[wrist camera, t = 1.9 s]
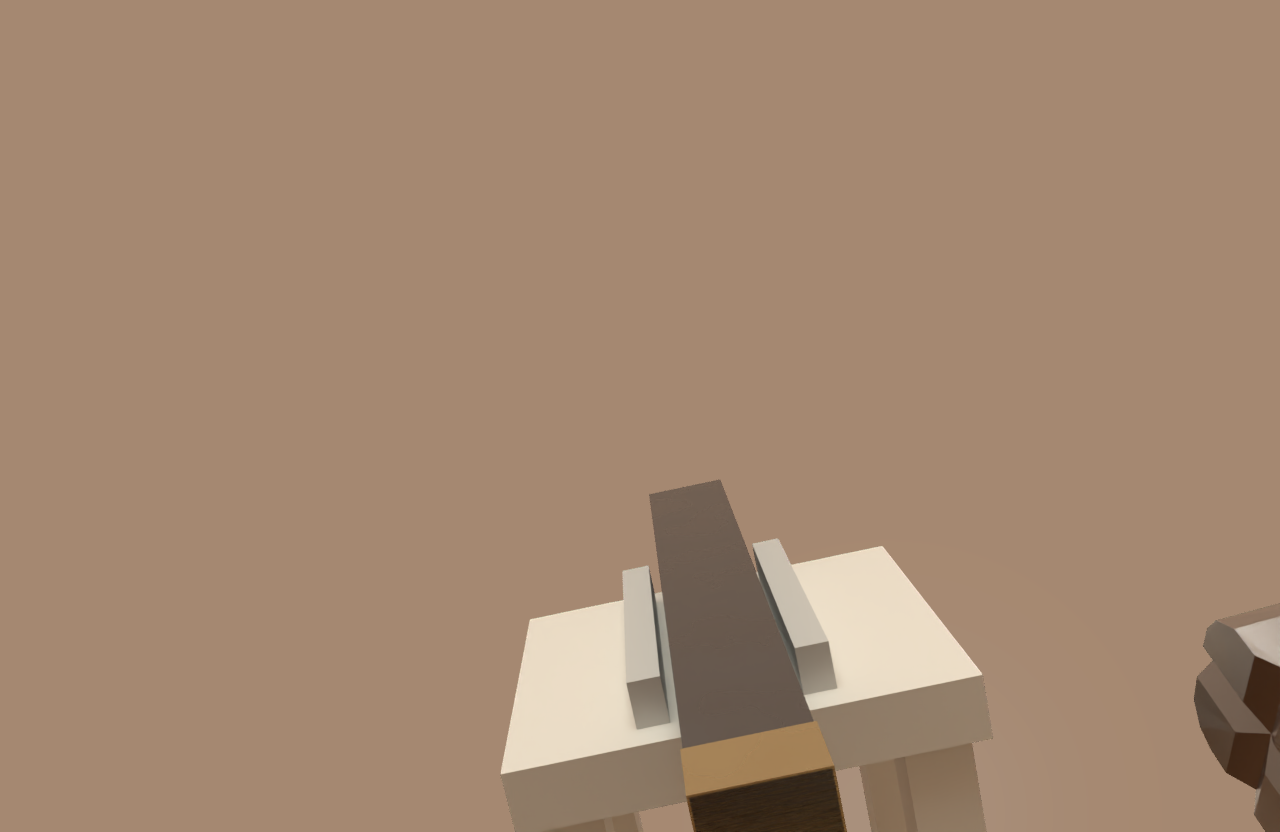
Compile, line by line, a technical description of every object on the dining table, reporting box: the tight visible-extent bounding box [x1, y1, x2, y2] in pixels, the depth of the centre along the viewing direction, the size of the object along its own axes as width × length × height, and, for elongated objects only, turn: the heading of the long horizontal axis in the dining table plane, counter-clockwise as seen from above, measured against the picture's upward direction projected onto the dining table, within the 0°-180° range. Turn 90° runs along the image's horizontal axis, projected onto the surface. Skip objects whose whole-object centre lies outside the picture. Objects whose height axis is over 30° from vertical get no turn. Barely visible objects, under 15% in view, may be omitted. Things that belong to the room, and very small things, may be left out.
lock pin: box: [649, 480, 847, 832], centre depth 35 cm, size 3×24×3 cm, turn 2°
